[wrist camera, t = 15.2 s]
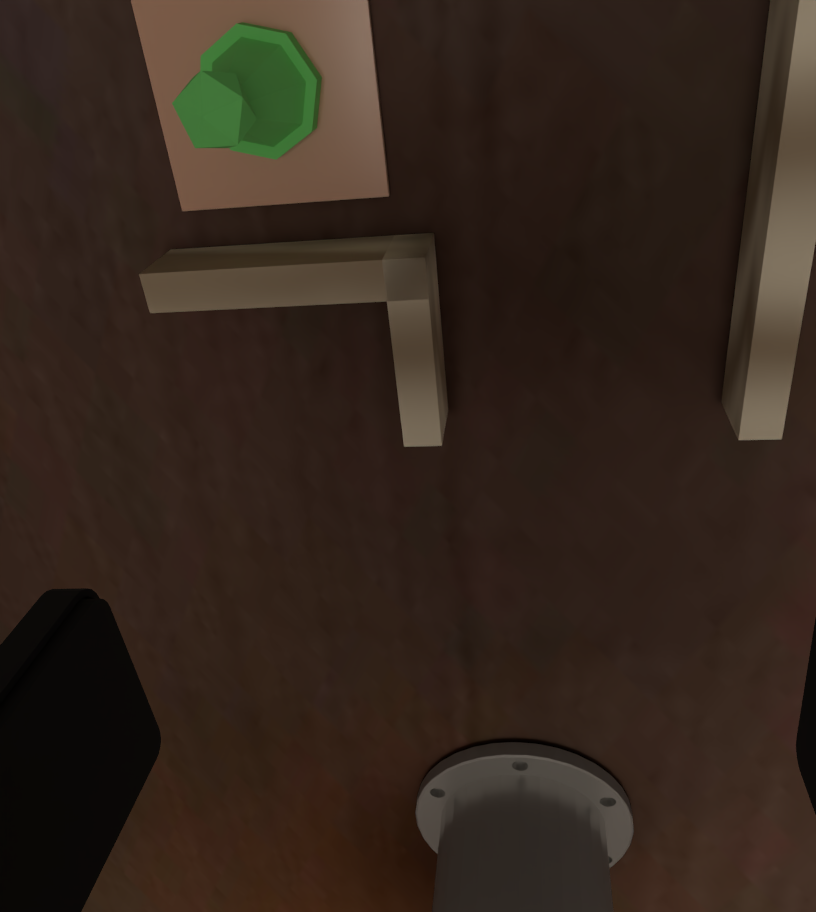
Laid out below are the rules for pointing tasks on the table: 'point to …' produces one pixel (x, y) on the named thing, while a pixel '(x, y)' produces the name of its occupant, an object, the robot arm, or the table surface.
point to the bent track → (413, 255)
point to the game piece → (251, 93)
